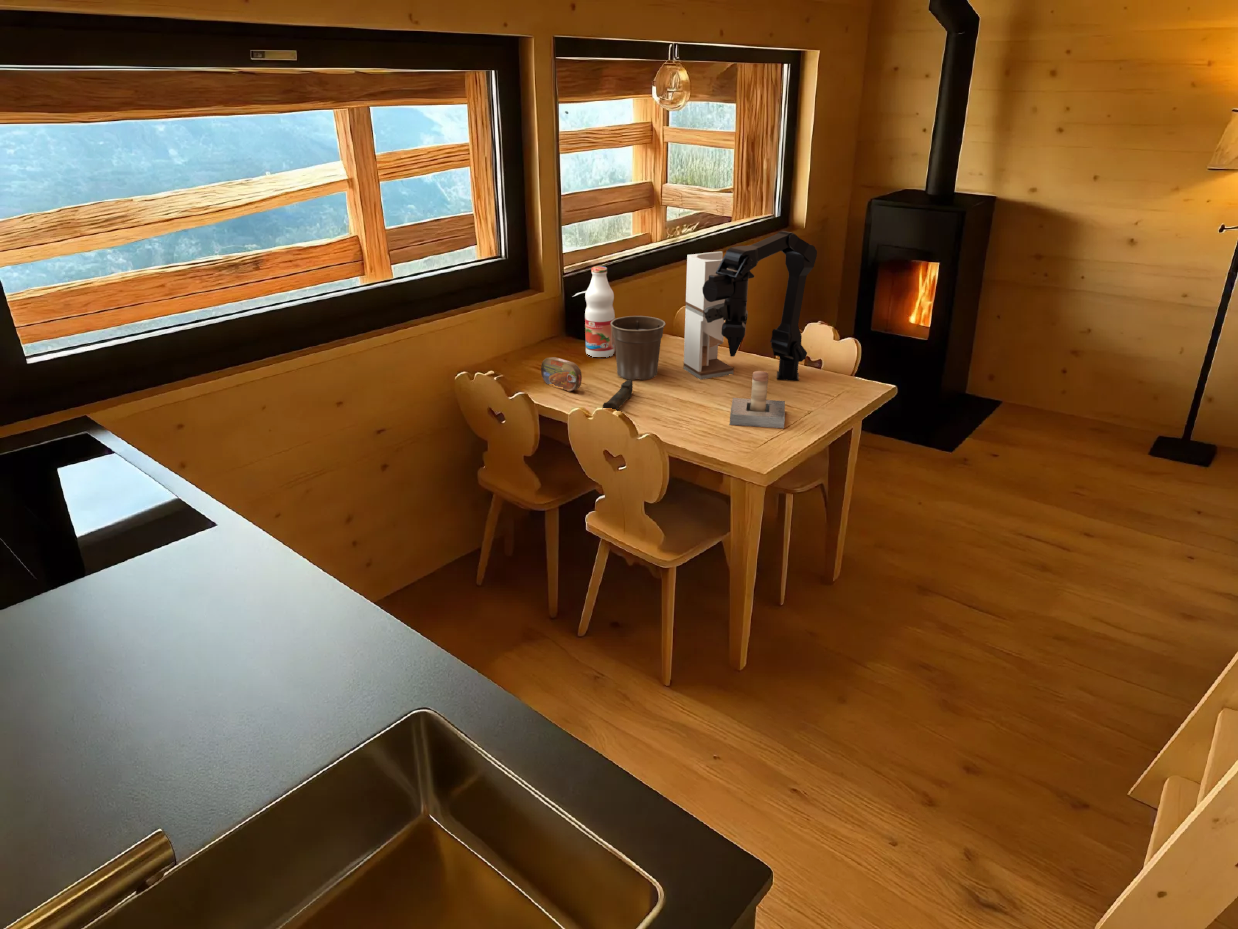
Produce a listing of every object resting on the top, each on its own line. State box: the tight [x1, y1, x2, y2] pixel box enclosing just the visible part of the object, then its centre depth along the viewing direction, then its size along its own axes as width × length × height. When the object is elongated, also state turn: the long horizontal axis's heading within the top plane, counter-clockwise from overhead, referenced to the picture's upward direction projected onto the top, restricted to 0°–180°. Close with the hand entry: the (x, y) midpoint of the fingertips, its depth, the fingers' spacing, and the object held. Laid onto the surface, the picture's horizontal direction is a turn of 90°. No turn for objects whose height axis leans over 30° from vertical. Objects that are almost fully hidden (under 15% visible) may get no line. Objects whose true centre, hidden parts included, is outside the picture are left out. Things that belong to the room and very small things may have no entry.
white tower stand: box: [683, 251, 737, 380], centre depth 251 cm, size 11×11×35 cm
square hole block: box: [729, 397, 786, 429], centre depth 225 cm, size 12×14×3 cm
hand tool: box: [602, 379, 634, 411], centre depth 234 cm, size 19×4×5 cm, turn 158°
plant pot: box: [611, 315, 666, 381], centre depth 253 cm, size 16×16×16 cm
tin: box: [540, 356, 583, 392], centre depth 245 cm, size 15×3×8 cm, turn 47°
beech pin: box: [750, 370, 769, 412], centre depth 222 cm, size 4×4×12 cm
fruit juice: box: [584, 265, 616, 358], centre depth 268 cm, size 9×9×28 cm
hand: (733, 351), depth 235 cm, fingers open, 9 cm apart
